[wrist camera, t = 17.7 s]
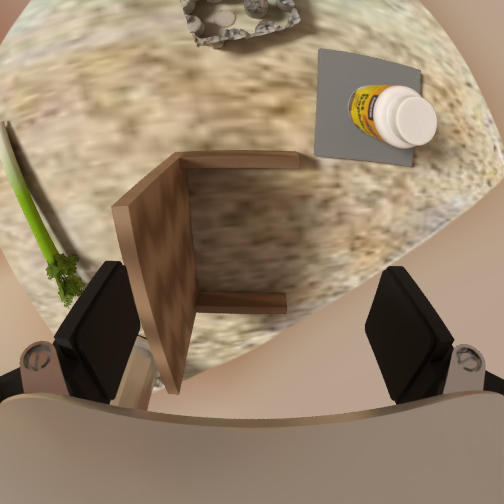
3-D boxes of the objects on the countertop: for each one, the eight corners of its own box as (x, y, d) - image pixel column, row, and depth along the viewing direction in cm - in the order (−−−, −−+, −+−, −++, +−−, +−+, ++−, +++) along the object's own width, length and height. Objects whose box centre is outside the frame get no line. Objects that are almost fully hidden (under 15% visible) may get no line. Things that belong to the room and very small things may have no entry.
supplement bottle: (342, 86, 25) (383, 85, 16) (389, 84, 24) (442, 87, 15) (349, 136, 27) (390, 158, 19) (394, 132, 27) (446, 154, 18)
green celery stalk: (21, 112, 27) (103, 285, 39) (3, 136, 29) (79, 292, 41) (-10, 120, 21) (81, 309, 34) (-24, 146, 24) (58, 314, 36)
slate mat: (407, 164, 30) (411, 166, 29) (313, 154, 30) (315, 156, 29) (416, 70, 23) (420, 70, 23) (318, 49, 23) (320, 48, 23)
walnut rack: (284, 299, 40) (295, 398, 26) (191, 297, 40) (168, 393, 26) (295, 151, 30) (333, 206, 16) (175, 152, 30) (111, 206, 16)
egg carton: (200, 56, 24) (192, 50, 21) (183, 1, 21) (173, -10, 17) (299, 33, 23) (305, 24, 19) (280, -22, 19) (283, -36, 16)
